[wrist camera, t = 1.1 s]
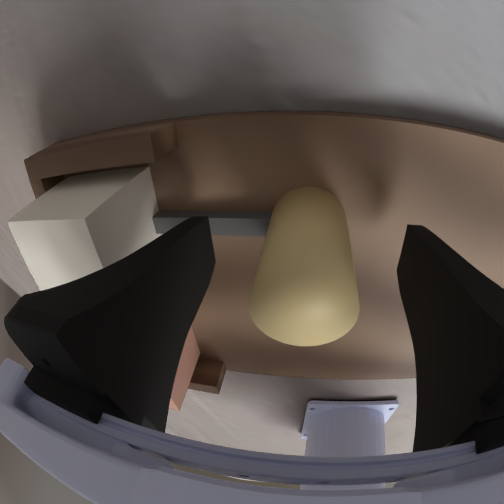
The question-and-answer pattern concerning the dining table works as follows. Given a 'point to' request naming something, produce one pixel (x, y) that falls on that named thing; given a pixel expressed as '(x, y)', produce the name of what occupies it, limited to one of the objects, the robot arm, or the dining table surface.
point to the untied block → (184, 371)
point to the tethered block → (221, 223)
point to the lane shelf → (316, 175)
